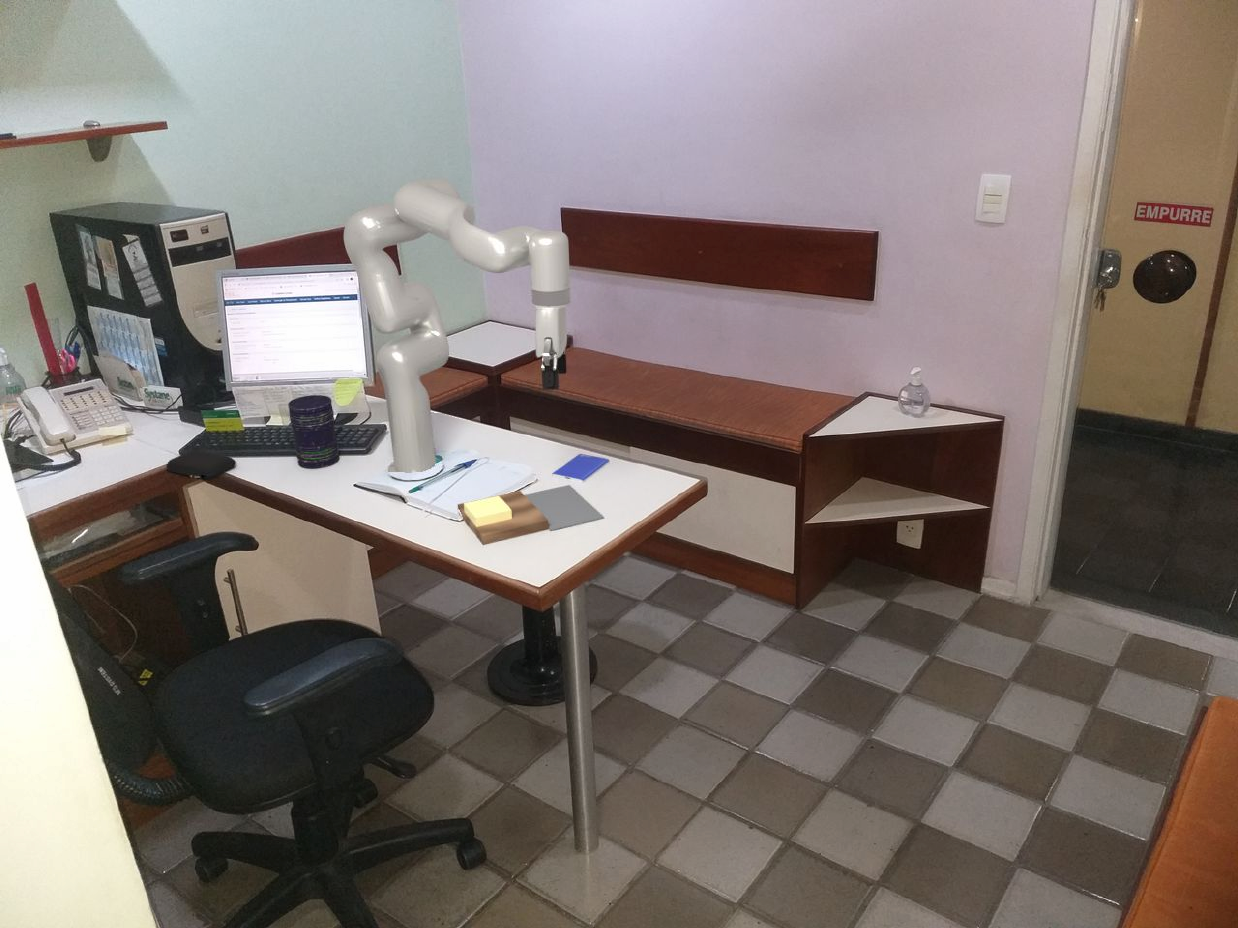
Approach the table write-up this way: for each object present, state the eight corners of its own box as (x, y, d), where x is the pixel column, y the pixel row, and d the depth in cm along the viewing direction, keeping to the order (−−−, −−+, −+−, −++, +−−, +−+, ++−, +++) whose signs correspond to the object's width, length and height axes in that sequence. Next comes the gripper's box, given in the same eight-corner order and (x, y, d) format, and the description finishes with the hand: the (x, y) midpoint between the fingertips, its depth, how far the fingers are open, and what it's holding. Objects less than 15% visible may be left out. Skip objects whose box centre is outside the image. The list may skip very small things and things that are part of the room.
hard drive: (578, 453, 230) (551, 472, 220) (609, 458, 226) (582, 478, 216) (579, 459, 231) (552, 478, 221) (609, 465, 227) (583, 485, 217)
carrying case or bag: (159, 474, 227) (205, 485, 221) (157, 462, 225) (203, 473, 219) (195, 458, 235) (240, 468, 229) (193, 446, 234) (238, 456, 228)
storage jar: (335, 468, 227) (326, 408, 221) (293, 470, 227) (282, 410, 221) (343, 451, 236) (335, 394, 230) (303, 453, 236) (293, 395, 230)
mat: (518, 497, 211) (518, 496, 211) (569, 486, 215) (569, 484, 215) (550, 531, 196) (550, 529, 196) (604, 518, 201) (604, 517, 200)
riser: (458, 512, 204) (457, 504, 203) (520, 499, 210) (519, 490, 209) (483, 544, 191) (482, 535, 190) (548, 529, 197) (548, 520, 196)
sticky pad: (464, 512, 200) (463, 503, 199) (499, 504, 203) (498, 495, 202) (476, 526, 194) (475, 518, 193) (512, 518, 197) (511, 509, 196)
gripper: (539, 286, 195) (543, 367, 202) (523, 308, 179) (528, 395, 186) (576, 286, 194) (579, 367, 201) (563, 308, 179) (567, 396, 186)
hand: (554, 381), depth 194 cm, fingers open, 9 cm apart
